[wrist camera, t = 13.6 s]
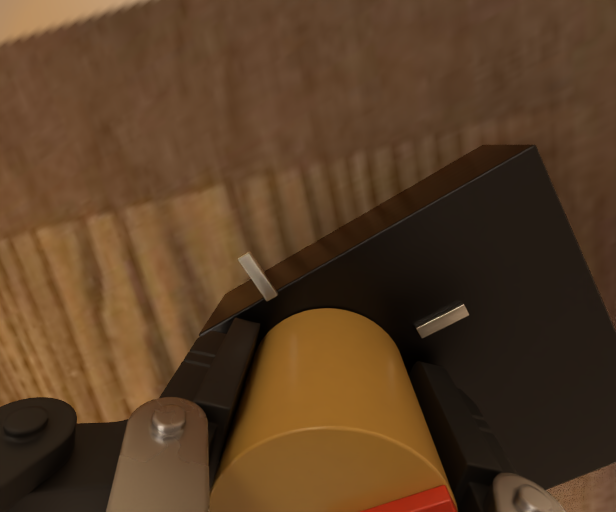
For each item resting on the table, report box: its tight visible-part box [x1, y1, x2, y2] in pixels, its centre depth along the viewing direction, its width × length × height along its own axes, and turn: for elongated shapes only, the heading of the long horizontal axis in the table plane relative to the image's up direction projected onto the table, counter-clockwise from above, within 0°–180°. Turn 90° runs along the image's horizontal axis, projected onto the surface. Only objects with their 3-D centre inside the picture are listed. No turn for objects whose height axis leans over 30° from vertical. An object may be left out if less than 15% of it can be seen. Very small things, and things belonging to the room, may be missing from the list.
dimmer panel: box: [199, 145, 616, 490], centre depth 12 cm, size 11×12×3 cm
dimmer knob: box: [209, 308, 458, 512], centre depth 8 cm, size 4×4×5 cm
